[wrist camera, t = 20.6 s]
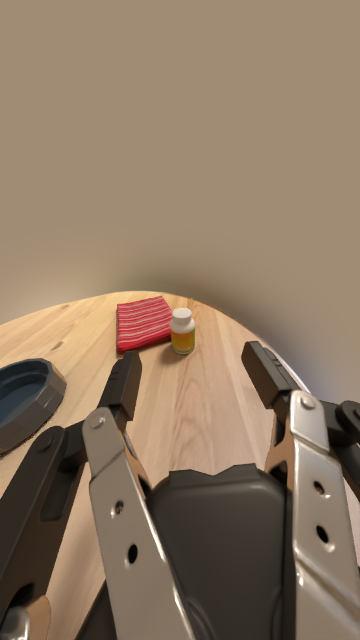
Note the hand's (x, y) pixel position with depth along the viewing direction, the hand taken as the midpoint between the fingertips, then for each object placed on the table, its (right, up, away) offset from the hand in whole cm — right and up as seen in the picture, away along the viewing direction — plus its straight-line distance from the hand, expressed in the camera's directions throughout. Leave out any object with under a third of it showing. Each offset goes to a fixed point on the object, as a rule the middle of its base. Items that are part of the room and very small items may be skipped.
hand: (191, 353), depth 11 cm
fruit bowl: (-28, -13, +13) cm, 33 cm away
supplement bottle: (0, -4, +23) cm, 24 cm away
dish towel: (-11, +2, +33) cm, 35 cm away
